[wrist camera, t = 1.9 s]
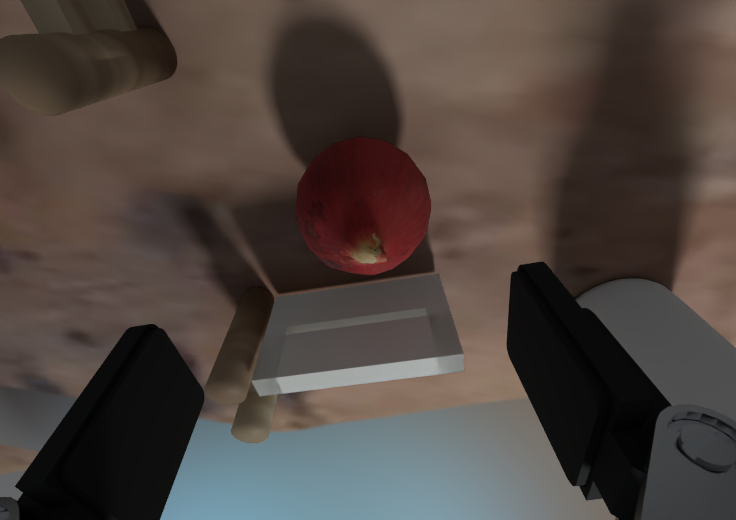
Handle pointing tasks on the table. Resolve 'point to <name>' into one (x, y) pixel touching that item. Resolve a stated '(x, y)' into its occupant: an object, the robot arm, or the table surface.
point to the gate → (358, 336)
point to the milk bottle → (668, 342)
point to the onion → (363, 206)
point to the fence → (108, 79)
